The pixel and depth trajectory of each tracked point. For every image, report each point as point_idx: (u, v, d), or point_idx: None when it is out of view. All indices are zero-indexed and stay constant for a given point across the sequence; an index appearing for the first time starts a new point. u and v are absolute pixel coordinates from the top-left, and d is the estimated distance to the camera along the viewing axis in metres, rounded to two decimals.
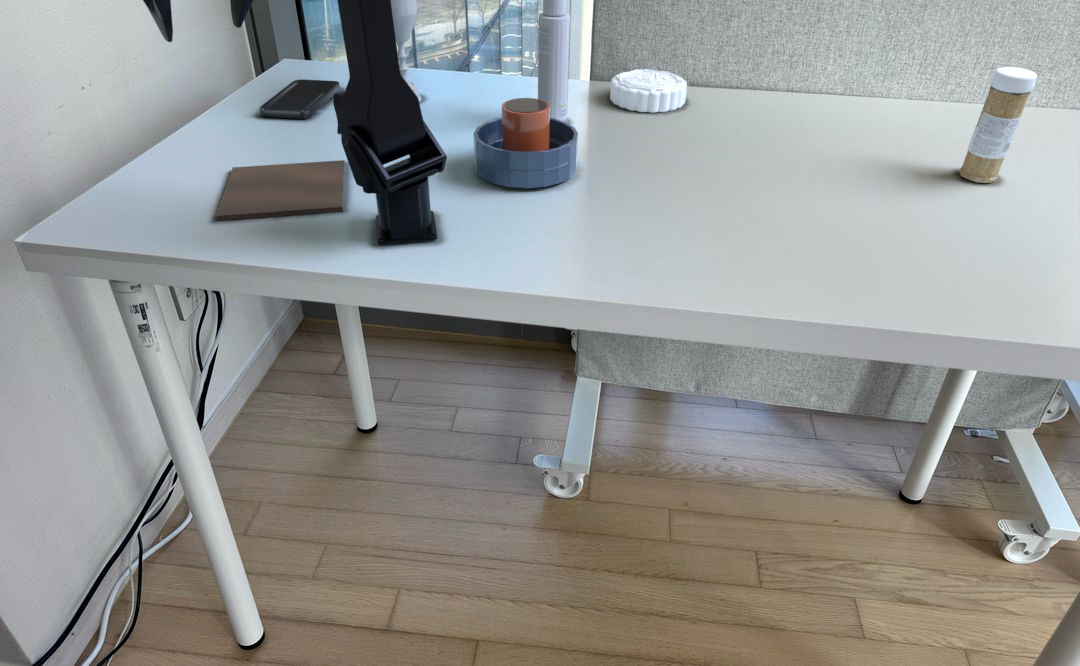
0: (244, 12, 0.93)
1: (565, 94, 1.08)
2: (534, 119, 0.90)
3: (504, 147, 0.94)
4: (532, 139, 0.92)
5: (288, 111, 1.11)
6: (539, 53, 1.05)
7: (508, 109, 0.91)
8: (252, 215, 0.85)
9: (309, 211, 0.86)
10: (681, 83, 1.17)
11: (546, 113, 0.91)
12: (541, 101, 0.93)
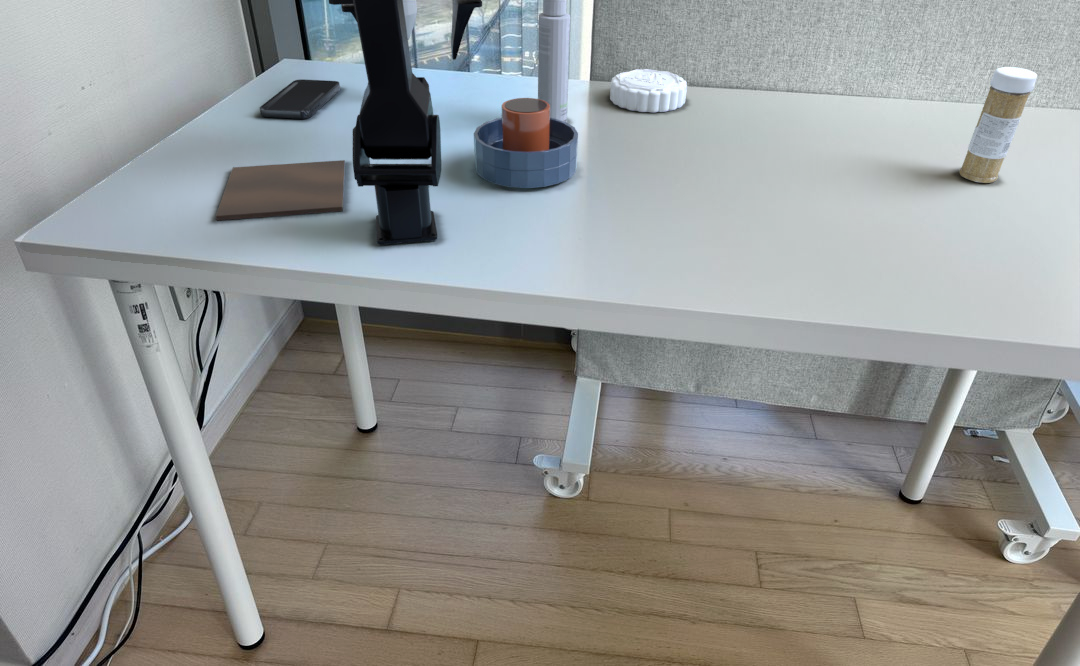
0: (456, 42, 0.91)
1: (565, 94, 1.08)
2: (534, 119, 0.90)
3: (504, 147, 0.94)
4: (532, 139, 0.92)
5: (288, 111, 1.11)
6: (539, 53, 1.05)
7: (508, 109, 0.91)
8: (252, 215, 0.85)
9: (309, 211, 0.86)
10: (681, 83, 1.17)
11: (546, 113, 0.91)
12: (541, 101, 0.93)
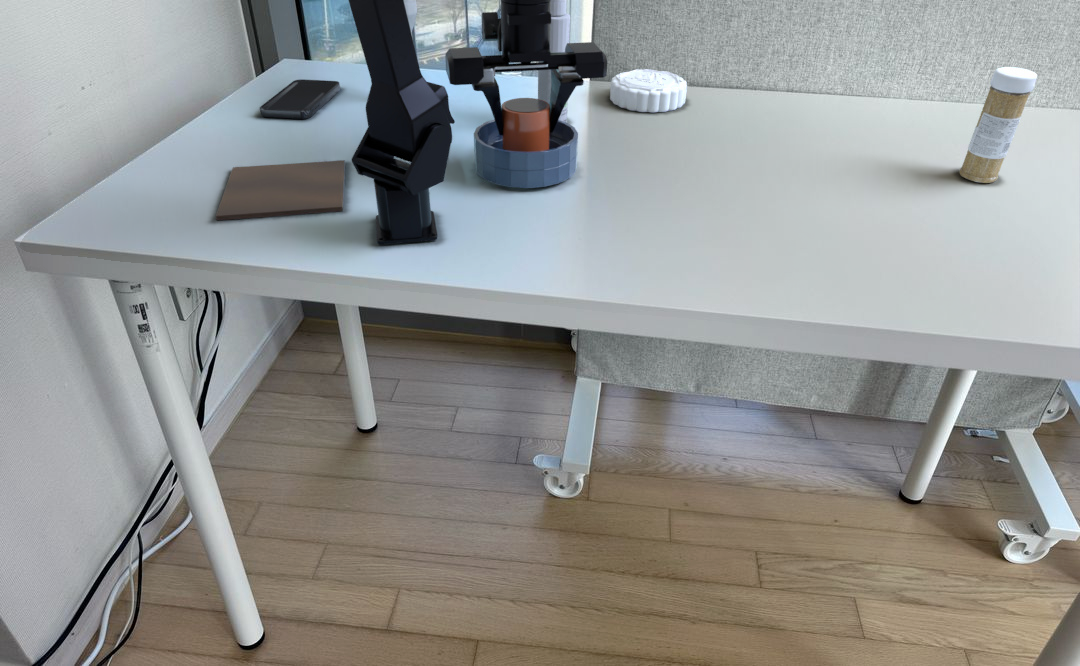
0: (555, 117, 0.92)
1: None
2: (534, 119, 0.90)
3: (504, 147, 0.94)
4: (531, 139, 0.92)
5: (288, 111, 1.11)
6: None
7: (508, 109, 0.91)
8: (252, 215, 0.85)
9: (309, 211, 0.86)
10: (681, 83, 1.17)
11: (545, 113, 0.91)
12: (541, 101, 0.93)
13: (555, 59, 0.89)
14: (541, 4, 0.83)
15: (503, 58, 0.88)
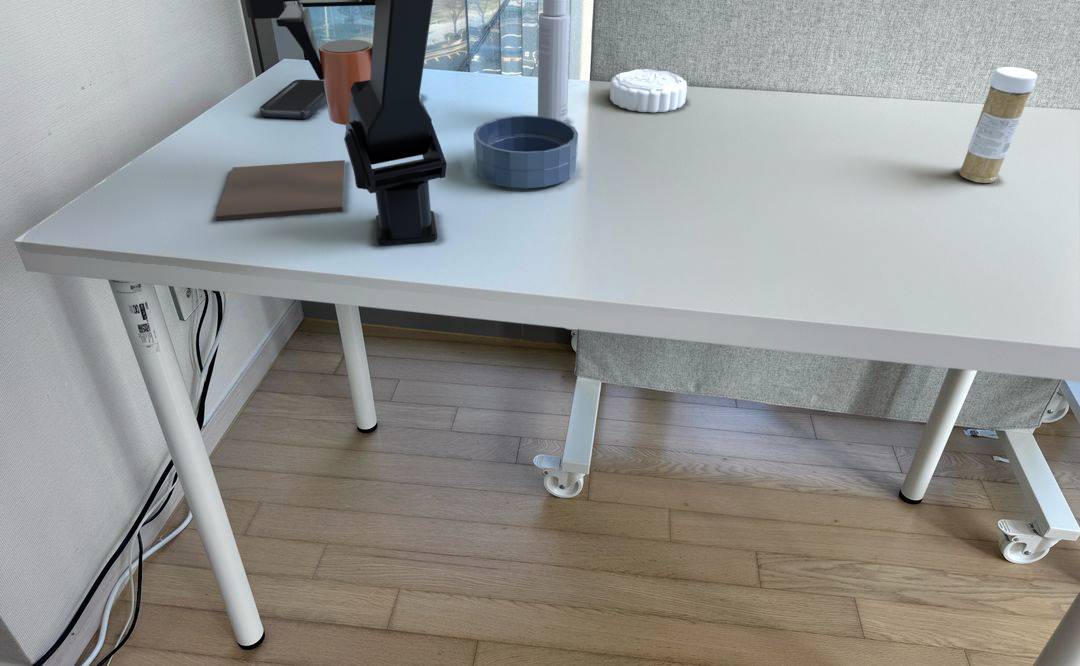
0: None
1: (565, 94, 1.08)
2: (350, 60, 0.82)
3: (325, 93, 0.86)
4: (350, 83, 0.83)
5: (288, 111, 1.11)
6: (539, 53, 1.05)
7: (323, 49, 0.83)
8: (252, 215, 0.85)
9: (309, 211, 0.86)
10: (681, 83, 1.17)
11: (364, 54, 0.83)
12: (365, 43, 0.85)
13: None
14: None
15: None
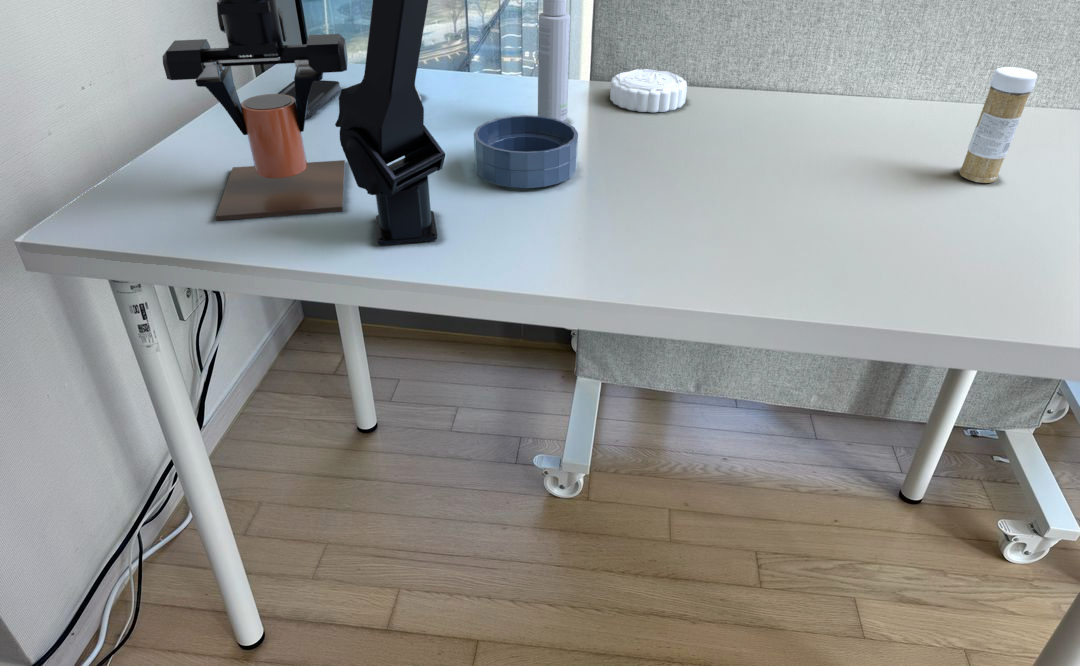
0: (300, 114, 0.85)
1: (565, 94, 1.08)
2: (271, 116, 0.83)
3: (250, 147, 0.87)
4: (273, 138, 0.85)
5: None
6: (539, 53, 1.05)
7: (245, 105, 0.84)
8: (252, 215, 0.85)
9: (309, 211, 0.86)
10: (681, 83, 1.17)
11: (286, 110, 0.84)
12: (287, 98, 0.86)
13: (290, 52, 0.82)
14: None
15: None
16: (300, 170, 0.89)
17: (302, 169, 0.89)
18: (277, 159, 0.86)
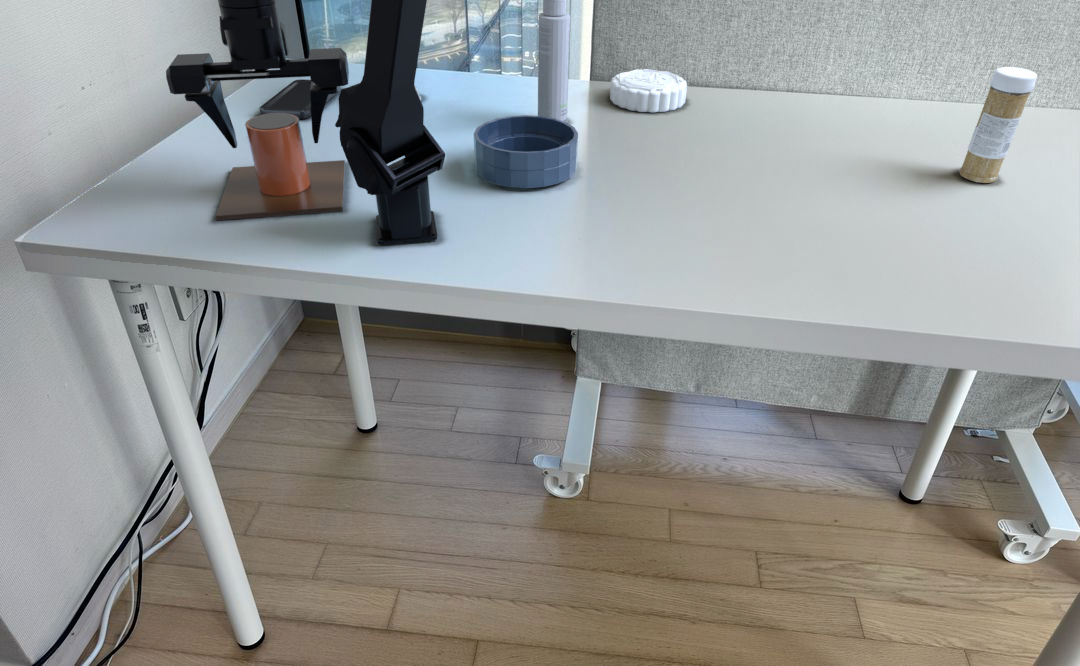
0: (315, 127, 0.87)
1: (565, 94, 1.08)
2: (275, 136, 0.85)
3: (254, 165, 0.88)
4: (277, 157, 0.86)
5: (288, 111, 1.11)
6: (539, 53, 1.05)
7: (250, 125, 0.85)
8: (252, 215, 0.85)
9: (309, 211, 0.86)
10: (681, 83, 1.17)
11: (290, 130, 0.85)
12: (291, 117, 0.88)
13: (306, 66, 0.83)
14: (258, 8, 0.77)
15: (232, 65, 0.82)
16: (303, 188, 0.90)
17: (305, 187, 0.90)
18: (280, 178, 0.88)
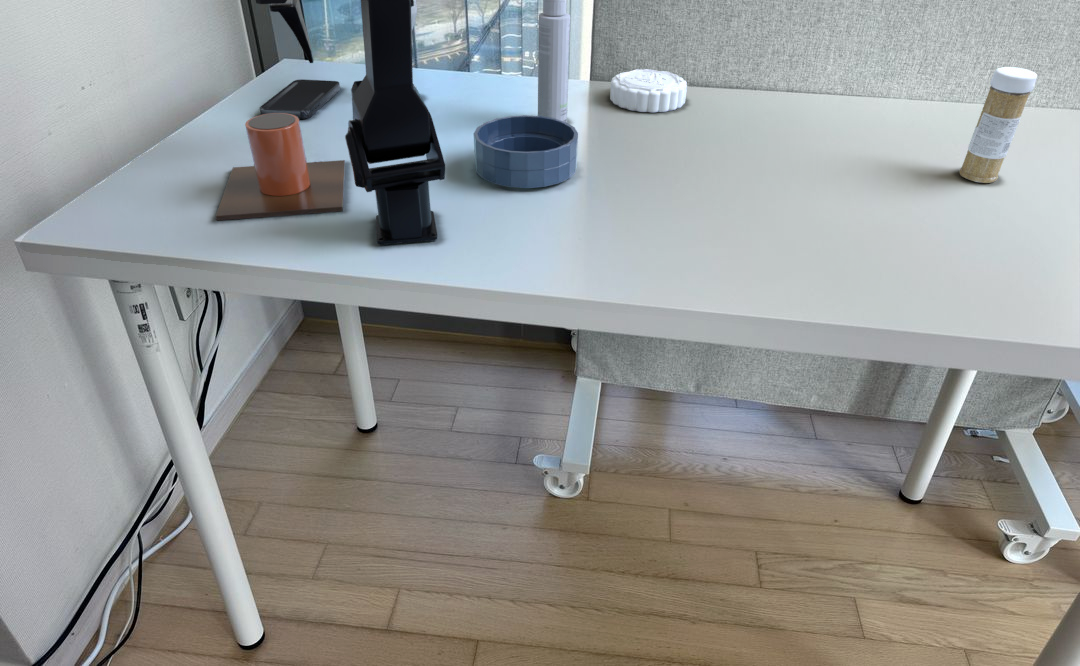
0: None
1: (565, 94, 1.08)
2: (275, 136, 0.85)
3: (254, 165, 0.88)
4: (277, 157, 0.86)
5: (288, 111, 1.11)
6: (539, 53, 1.05)
7: (250, 125, 0.85)
8: (252, 215, 0.85)
9: (309, 211, 0.86)
10: (681, 83, 1.17)
11: (290, 130, 0.85)
12: (291, 117, 0.88)
13: None
14: None
15: None
16: (303, 188, 0.90)
17: (305, 187, 0.90)
18: (280, 178, 0.88)
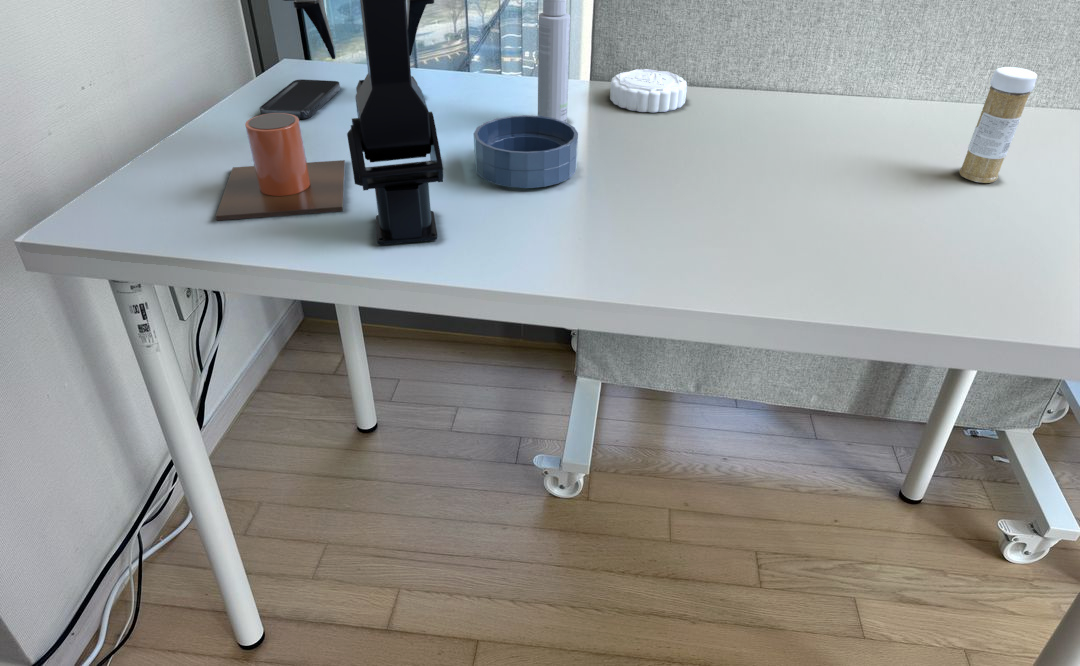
0: (410, 38, 0.91)
1: (565, 94, 1.08)
2: (275, 136, 0.85)
3: (254, 165, 0.88)
4: (277, 157, 0.86)
5: (288, 111, 1.11)
6: (539, 53, 1.05)
7: (250, 125, 0.85)
8: (252, 215, 0.85)
9: (309, 211, 0.86)
10: (681, 83, 1.17)
11: (290, 130, 0.85)
12: (291, 117, 0.88)
13: None
14: None
15: None
16: (303, 188, 0.90)
17: (305, 187, 0.90)
18: (280, 178, 0.88)
